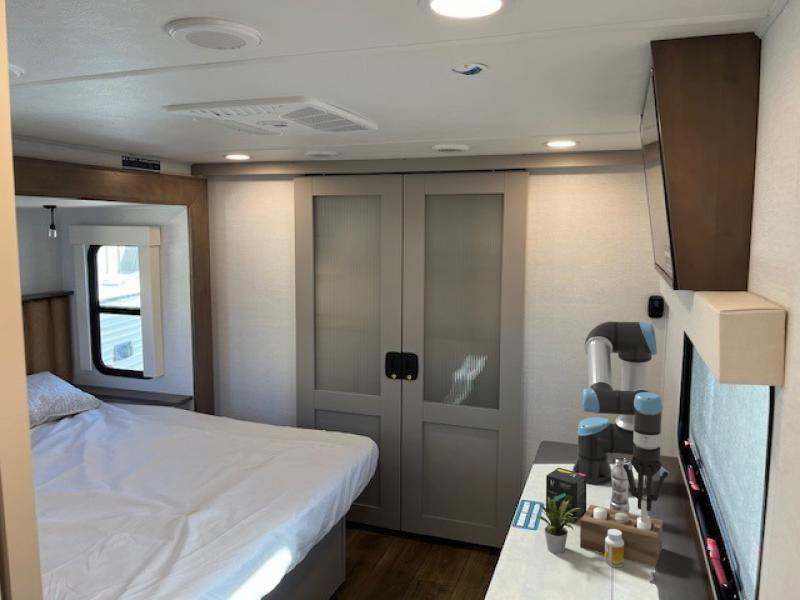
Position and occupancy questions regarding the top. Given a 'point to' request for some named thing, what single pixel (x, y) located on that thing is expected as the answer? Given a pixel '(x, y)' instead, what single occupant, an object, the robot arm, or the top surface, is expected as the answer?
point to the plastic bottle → (619, 487)
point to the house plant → (557, 526)
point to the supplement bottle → (614, 548)
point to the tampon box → (567, 491)
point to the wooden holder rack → (636, 541)
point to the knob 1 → (600, 513)
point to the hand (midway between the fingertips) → (644, 519)
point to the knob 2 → (644, 524)
